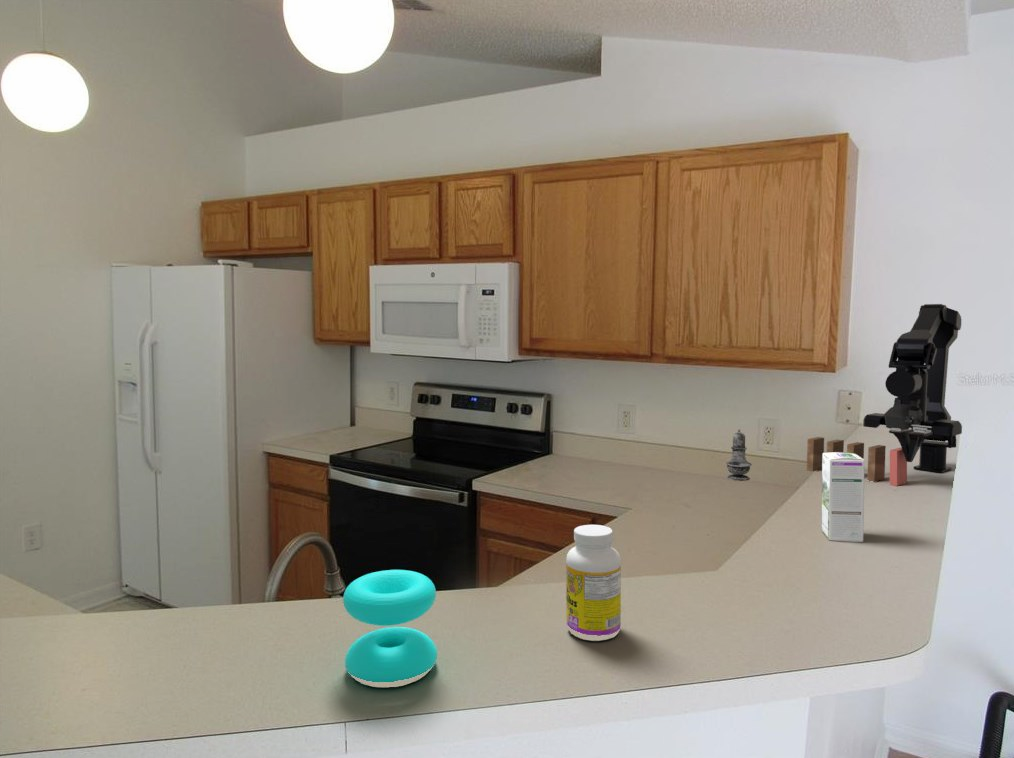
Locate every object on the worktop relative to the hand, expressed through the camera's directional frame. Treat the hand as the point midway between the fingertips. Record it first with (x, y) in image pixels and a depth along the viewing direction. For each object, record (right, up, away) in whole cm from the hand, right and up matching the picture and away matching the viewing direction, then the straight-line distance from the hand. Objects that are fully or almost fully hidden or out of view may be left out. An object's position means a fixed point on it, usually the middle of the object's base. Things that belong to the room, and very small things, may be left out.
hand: (909, 461), depth 157 cm
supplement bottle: (-81, -13, -72) cm, 109 cm away
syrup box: (-33, -9, -36) cm, 49 cm away
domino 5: (-1, -5, +2) cm, 6 cm away
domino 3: (-7, -5, +10) cm, 13 cm away
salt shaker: (-36, -5, +10) cm, 37 cm away
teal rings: (-104, -14, -80) cm, 132 cm away
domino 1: (-13, -4, +18) cm, 23 cm away
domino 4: (-4, -5, +6) cm, 9 cm away
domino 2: (-10, -5, +14) cm, 18 cm away
